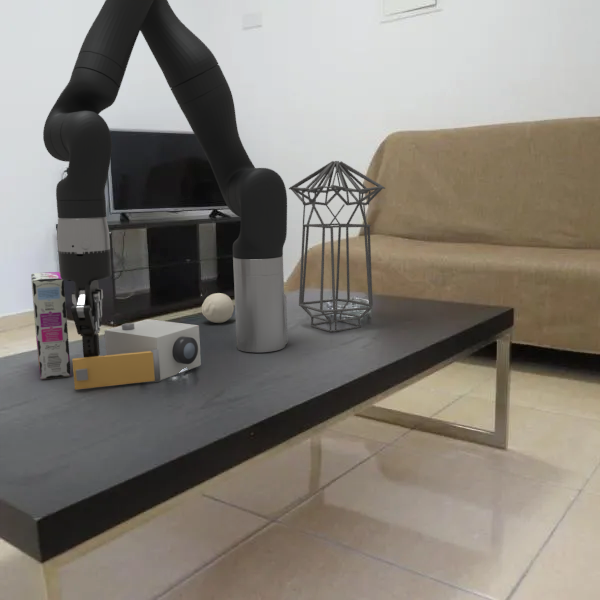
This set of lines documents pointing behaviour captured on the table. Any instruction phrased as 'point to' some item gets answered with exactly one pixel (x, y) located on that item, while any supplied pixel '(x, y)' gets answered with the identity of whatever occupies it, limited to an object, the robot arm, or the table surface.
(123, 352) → the block
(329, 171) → the geometric lantern
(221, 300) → the cream round ball
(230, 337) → the table surface
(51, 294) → the candy bar box
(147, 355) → the side door
